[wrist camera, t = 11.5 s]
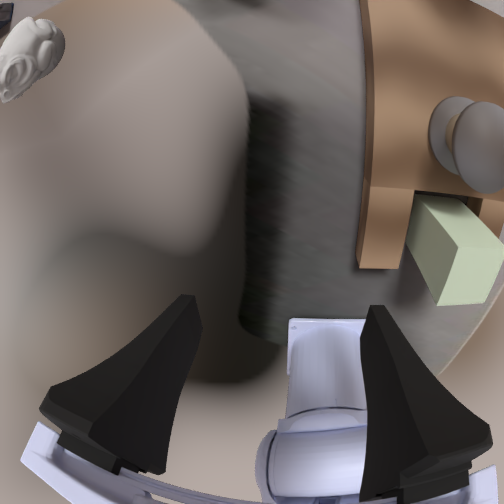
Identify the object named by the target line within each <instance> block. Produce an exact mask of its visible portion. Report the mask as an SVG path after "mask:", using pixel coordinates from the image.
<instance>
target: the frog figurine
mask: <svg viewBox="0 0 504 504" xmlns="http://www.w3.org/2000/svg"><path fill="white" fill-rule="evenodd" d="M64 49H65V38H64V35H63V33H62V31H61V30H60V29H59V28H58V27H56V26H55V24H54V23H53V22H52V21H50V20H45V19H38V20H37V21H34V19H33V18H31V17H27V18H25V19H23V20H22V21H21V22H19V23H18V24H17V25H16V26H15V27H14V28H13V30H12V31H11V32H10V33H9V35H8V36H7V38H6V39H5V41H4V43H3V45H2V46H1V48H0V99H1V101H2V103H7V102H9V101H11V100H13V99H16V98H19V97H20V96H22V95H23V93H24V92H25V91H26V90H27V89H29V88H30V87H31V86H32V84H33V83H34V82H36V81H37V80H38V79H41V78H42V77H44V76H46V75H48V74H49V73H50V72H51V71H52V70H53V69H54V68H55V67H56V66H57V65H58V63H59V61H60V60H61V58H62V56H63V53H64Z"/></svg>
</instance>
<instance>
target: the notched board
mask: <svg viewBox="0 0 504 504" xmlns="http://www.w3.org/2000/svg"><path fill="white" fill-rule="evenodd" d="M359 2H360V9H361V17H362V26H363V37H364V50H365V67H366V147H365V165H364V179H363V191H362V202H361V212H360V220H359V229H358V236H357V244H356V251H355V254H356V257H357V261H358V265H359V268H378V269H398V267H399V263H400V259H401V255H402V251H403V247H404V242H405V238H406V233H407V228H408V224H409V218H410V213H411V208H412V202H413V196H414V190H420V191H430V192H439V193H447V194H455V195H463V196H469V197H468V201H467V207H468V208H469V209H470V210H471V211H472V212H473V213H474V214H475V215H476V216H477V217H478V218H479V219H480V220H481V221H482V222H483V223H484V224H485V225H486V226H487V227H488V228H489V229H490V230H491V232H492V233H493V234H494V235H495V236H496V237H497V238H498V239H499V236H500V233H501V230H502V226H503V223H504V188H503V189H501V190H500V191H498V192H495V193H492V194H483V193H480V192H478V191H476V190H474V189H473V188H471V187H470V186H469V185H468V184H466V183H465V182H464V181H463V179H462V178H461V177H460V175H457V174H454V173H452V172H450V171H448V170H447V169H446V168H444V167H443V166H442V165H441V164H440V163H439V162H438V161H437V159H436V158H435V156H434V155H433V152H432V150H431V147H430V144H429V139H428V125H429V120H430V117H431V114H432V112H433V110H434V108H435V107H436V106H437V105H438V104H439V102H441V101H442V100H444V99H446V98H448V97H452V96H459V97H464V98H468V99H470V100H472V101H474V102H479V101H484V102H489V103H493V104H496V105H498V106H500V107H501V108H503V109H504V18H503V17H501V16H500V15H498V14H496V13H494V12H492V11H490V10H488V9H486V8H484V7H482V6H480V5H478V4H476V3H474V2H472V1H470V0H359Z"/></svg>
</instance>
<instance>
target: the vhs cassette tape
mask: <svg viewBox="0 0 504 504" xmlns="http://www.w3.org/2000/svg"><path fill="white" fill-rule="evenodd" d="M13 5H14V3H3V4H0V29H1V28H2V27H3V26H4V25H6V24H7V23H8V22H10V20H11V16H12V8H13Z"/></svg>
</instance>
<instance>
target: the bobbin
mask: <svg viewBox="0 0 504 504" xmlns="http://www.w3.org/2000/svg"><path fill="white" fill-rule="evenodd" d="M428 139H429V144H430V147H431V150H432V152H433V155H434V156H435V158H436V159H437V161H438V162H439V163H440V164H441V165H442V166H443V167H444V168H446V169H447V170H448V171H450V172H452V173H454V174H457V175H460V177H461V178H462V179H463V181H464V182H465V183H466V184H468V185H469V186H470V187H471V188H473V189H474V190H476V191H478V192H480V193H483V194H492V193H495V192H498V191H500V190H501V189H503V188H504V109H503V108H501V107H500V106H498V105H496V104H493V103H489V102H484V101H479V102H474V101H472V100H470V99H468V98H464V97H459V96H452V97H448V98H446V99H444V100H442V101H441V102H439V104H438V105H437V106H436V107H435V108H434V110H433V112H432V114H431V117H430V120H429V125H428Z"/></svg>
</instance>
